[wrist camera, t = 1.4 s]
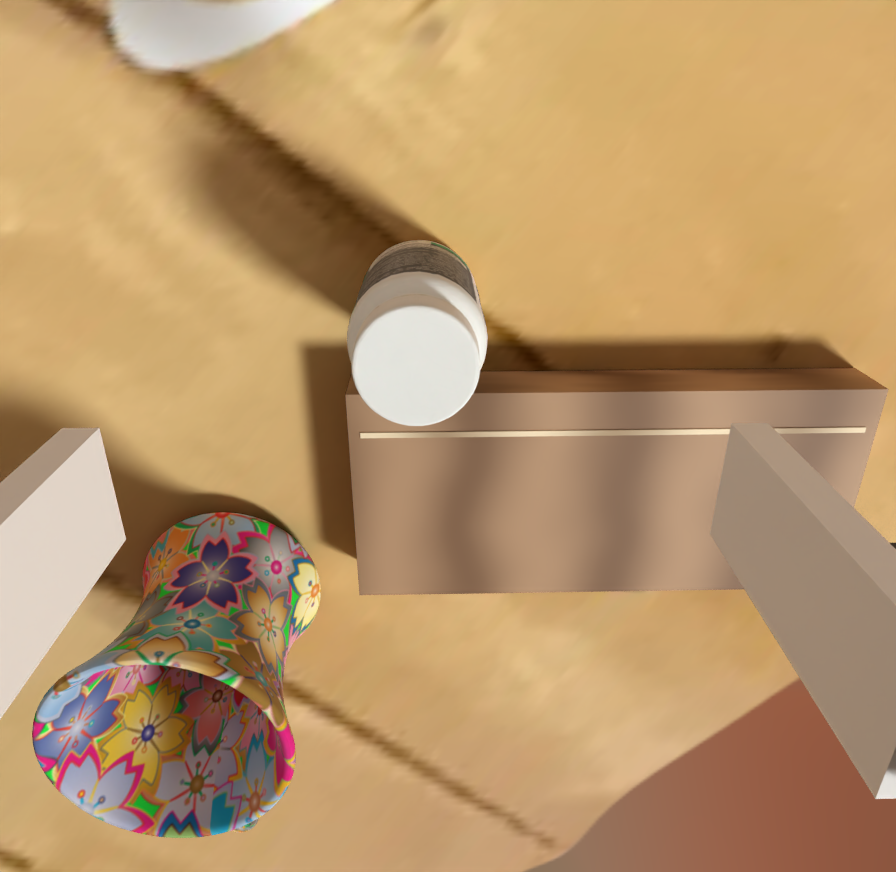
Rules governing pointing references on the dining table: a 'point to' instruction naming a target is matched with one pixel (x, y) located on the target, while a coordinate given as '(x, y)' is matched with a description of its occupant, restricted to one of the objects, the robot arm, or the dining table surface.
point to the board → (584, 476)
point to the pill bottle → (417, 334)
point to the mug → (188, 687)
